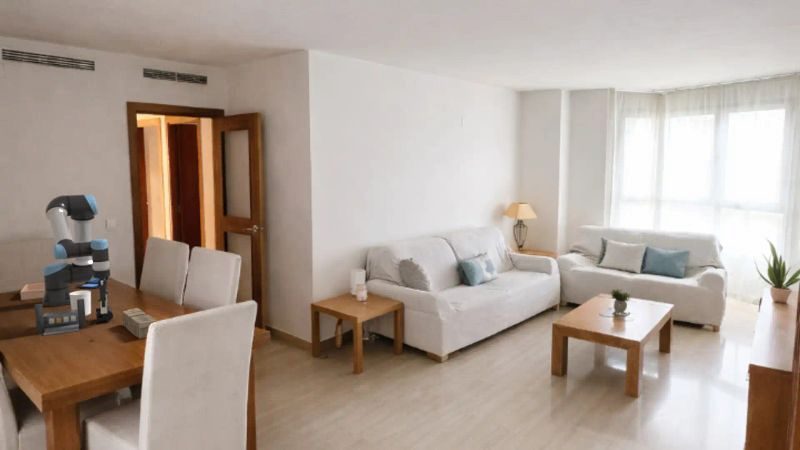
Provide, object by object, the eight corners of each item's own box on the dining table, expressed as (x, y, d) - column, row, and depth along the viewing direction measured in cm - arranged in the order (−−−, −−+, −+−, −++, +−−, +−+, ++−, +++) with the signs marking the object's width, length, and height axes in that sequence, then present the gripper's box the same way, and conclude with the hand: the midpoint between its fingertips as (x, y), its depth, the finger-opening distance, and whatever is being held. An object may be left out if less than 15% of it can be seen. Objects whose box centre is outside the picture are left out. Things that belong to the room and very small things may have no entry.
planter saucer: (26, 292, 319) (25, 284, 319) (64, 288, 329) (63, 281, 329) (21, 300, 301) (20, 291, 301) (61, 295, 311) (60, 287, 310)
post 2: (79, 327, 251) (77, 299, 249) (86, 326, 252) (84, 298, 251) (78, 328, 248) (76, 300, 246) (86, 327, 250) (83, 300, 248)
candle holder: (82, 317, 266) (80, 295, 265) (66, 316, 268) (64, 294, 267) (96, 312, 276) (95, 290, 274) (81, 311, 278) (79, 290, 276)
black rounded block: (113, 322, 259) (112, 309, 258) (97, 324, 255) (96, 311, 254) (112, 317, 267) (111, 304, 266) (96, 319, 263) (95, 306, 262)
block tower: (122, 327, 254) (139, 340, 232) (121, 310, 253) (138, 322, 232) (139, 323, 259) (158, 336, 238) (138, 307, 258) (156, 318, 237)
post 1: (37, 332, 242) (34, 304, 241) (44, 331, 244) (42, 303, 242) (36, 334, 240) (33, 305, 238) (44, 333, 241) (41, 304, 240)
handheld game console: (74, 288, 330) (73, 274, 329) (90, 284, 343) (89, 270, 342) (96, 289, 328) (95, 275, 327) (111, 284, 341) (110, 271, 340)
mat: (45, 329, 247) (45, 328, 247) (79, 324, 254) (79, 324, 254) (43, 335, 238) (43, 335, 238) (78, 331, 245) (78, 330, 245)
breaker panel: (45, 325, 254) (44, 313, 253) (82, 320, 262) (81, 309, 261) (43, 329, 247) (42, 317, 247) (82, 324, 255) (81, 312, 254)
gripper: (93, 266, 267) (96, 305, 269) (91, 274, 245) (95, 317, 247) (109, 264, 270) (112, 303, 273) (109, 272, 249) (112, 314, 251)
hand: (104, 310), depth 260 cm, fingers open, 13 cm apart
